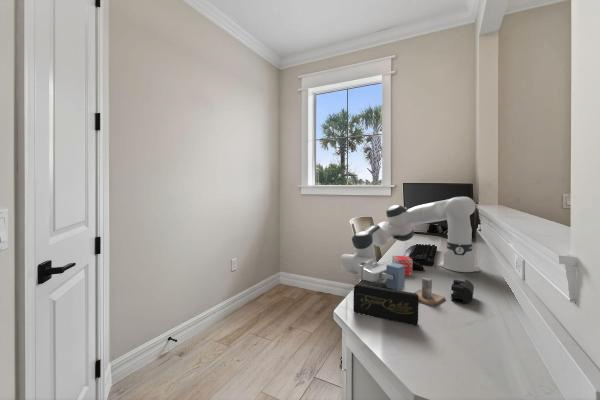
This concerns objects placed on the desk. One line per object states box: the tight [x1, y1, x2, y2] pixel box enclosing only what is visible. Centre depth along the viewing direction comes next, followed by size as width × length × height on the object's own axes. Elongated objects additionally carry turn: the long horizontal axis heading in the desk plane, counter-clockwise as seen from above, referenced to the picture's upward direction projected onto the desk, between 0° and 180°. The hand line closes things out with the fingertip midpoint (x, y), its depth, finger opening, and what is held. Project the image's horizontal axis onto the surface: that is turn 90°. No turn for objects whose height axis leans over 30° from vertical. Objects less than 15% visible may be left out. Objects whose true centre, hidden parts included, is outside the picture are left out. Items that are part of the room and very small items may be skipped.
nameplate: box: [352, 283, 420, 327], centre depth 92 cm, size 21×2×10 cm, turn 63°
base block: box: [413, 277, 446, 307], centre depth 108 cm, size 10×10×8 cm
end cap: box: [450, 279, 475, 305], centre depth 107 cm, size 10×7×7 cm
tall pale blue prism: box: [385, 262, 406, 291], centre depth 116 cm, size 5×5×10 cm
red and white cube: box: [391, 255, 413, 276], centre depth 141 cm, size 8×8×8 cm
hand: (397, 275), depth 115 cm, fingers closed on tall pale blue prism, 5 cm apart
